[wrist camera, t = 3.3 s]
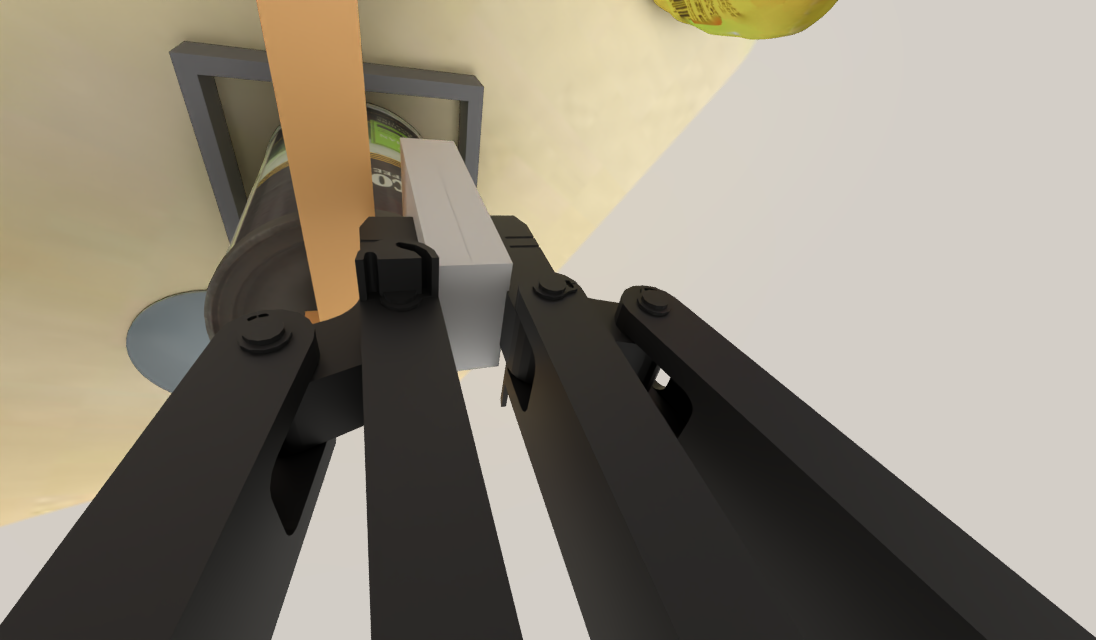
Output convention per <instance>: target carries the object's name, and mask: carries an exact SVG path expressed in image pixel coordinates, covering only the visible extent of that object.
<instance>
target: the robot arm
mask: <svg viewBox="0 0 1096 640" xmlns="http://www.w3.org/2000/svg"><path fill="white" fill-rule="evenodd" d="M400 155H401V181H402V207H403V217H368V218H367V219H366V220H365V221H364V222H363V224H362V225H361V226H360V227H359V234H360V250H359V251H358V253H357V255H356V258H355V266H356V274H357V283H358V291H359V300H358V302H357V303H356V304H355V305H354V306H353V307H352V308H351V309H350V310H348V311H347V312H345V313H343V314H341V315H339V316H337V317H334V318H331V319H328V320H325V321H321V322H318V323H314V324H312V323H311V321H310V319H308V318H307V317H305V316H303V315H302V314H300V313H298V312H293V311H288V310H283V309H276V310H261V311H257V312H253V313H249V314H245V315H243V316H241V317H239V318H237V319H235V320H233V321H231V322H228V323H227V324H226V325H225V326H224V327H223V328H222V329H221V330H219V331H218V332H217V333H216V334H215V336H214V337H213V338H212V340H211V341H210V342H209V344H208V345H207V346H206V348H205V349H204V350H203V352H202V353H201V355H200V356H199V357H198V359H197V360H196V361H195V363H194V364H193V365H192V367H191V368H190V369H189V371H188V372H187V373H186V375H185V376H184V377H183V379H182V380H181V382H180V383H179V384H178V386H177V387H176V388H175V390H174V391H173V392H172V394H171V395H170V396H169V398H168V399H167V400H166V402H165V403H164V405H163V406H162V407H161V409H160V410H159V411H158V413H157V414H156V415H155V417H154V418H153V419H152V421H151V422H150V423H149V425H148V426H147V427H146V429H145V430H144V432H143V433H142V434H141V436H140V437H139V438H138V440H137V441H136V442H135V444H134V445H133V446H132V448H131V449H130V450H129V452H128V453H127V454H126V456H125V457H124V459H123V460H122V461H121V463H120V464H119V465H118V467H117V468H116V469H115V471H114V472H113V473H112V475H111V476H110V477H109V479H108V480H107V482H106V483H105V484H104V486H103V487H102V488H101V490H100V491H99V492H98V494H97V495H96V496H95V498H94V499H93V500H92V502H91V503H90V505H89V506H88V507H87V509H86V510H85V511H84V513H83V514H82V515H81V517H80V518H79V519H78V521H77V522H76V523H75V525H74V526H73V528H72V529H71V530H70V532H69V533H68V534H67V536H66V537H65V538H64V540H63V541H62V543H61V544H60V545H59V546H58V548H57V549H56V550H55V552H54V553H53V555H52V556H51V557H50V559H49V560H48V561H47V563H46V564H45V565H44V567H43V568H42V569H41V571H40V572H39V573H38V575H37V576H36V577H35V579H34V580H33V581H32V583H31V584H30V586H29V587H28V588H27V590H26V591H25V592H24V594H23V595H22V596H21V598H20V599H19V600H18V602H17V603H16V604H15V606H14V607H13V608H12V610H11V611H10V613H9V614H8V615H7V617H6V618H5V619H4V621H3V622H2V623H1V625H0V640H271V638H272V635H273V632H274V629H275V626H276V623H277V620H278V617H279V614H280V611H281V608H282V605H283V602H284V599H285V596H286V593H287V590H288V587H289V584H290V580H291V578H292V575H293V571H294V568H295V565H296V562H297V559H298V556H299V553H300V550H301V547H302V544H303V541H304V538H305V535H306V532H307V529H308V526H309V523H310V520H311V517H312V513H313V511H314V507H315V504H316V501H317V498H318V495H319V492H320V489H321V486H322V483H323V480H324V477H325V474H326V471H327V468H328V465H329V462H330V459H331V456H332V453H333V450H334V447H335V444H336V437H338V436H340V435H343V434H345V433H347V432H350V431H352V430H354V429H357V428H359V427H362V426H364V441H365V468H366V469H365V470H366V497H367V498H366V499H367V527H368V557H369V584H370V585H369V586H370V613H371V614H370V615H371V640H523V638H522V634H521V630H520V625H519V622H518V618H517V613H516V609H515V605H514V601H513V597H512V593H511V589H510V585H509V581H508V577H507V573H506V568H505V564H504V560H503V556H502V552H501V548H500V544H499V540H498V536H497V532H496V528H495V524H494V520H493V516H492V512H491V508H490V503H489V499H488V495H487V491H486V487H485V483H484V479H483V475H482V471H481V467H480V463H479V459H478V455H477V451H476V447H475V442H474V438H473V434H472V430H471V426H470V422H469V418H468V414H467V410H466V406H465V402H464V398H463V394H462V390H461V386H460V381H459V377H458V373H457V371H461V370H470V369H478V368H486V367H495V366H498V365H499V358H500V351H501V350H502V352H503V355H504V358H505V361H506V367H505V374H504V380H503V387H502V393H501V407H504V406H506V403H507V397H508V395H509V398H510V401H511V404H512V407H513V410H514V413H515V416H516V419H517V422H518V425H519V428H520V431H521V434H522V436H523V439H524V443H525V446H526V448H527V452H528V455H529V457H530V461H531V463H532V466H533V469H534V472H535V475H536V478H537V481H538V484H539V487H540V490H541V493H542V496H543V499H544V502H545V505H546V508H547V511H548V514H549V517H550V520H551V523H552V526H553V529H554V532H555V535H556V538H557V541H558V544H559V547H560V550H561V553H562V556H563V559H564V562H565V565H566V568H567V571H568V574H569V577H570V580H571V582H572V586H573V589H574V592H575V595H576V598H577V601H578V604H579V606H580V610H581V612H582V615H583V618H584V621H585V625H586V628H587V631H588V634H589V637H590V639H591V640H1096V637H1094V636H1093V635H1092V634H1091V633H1089V632H1088V631H1087V630H1086V629H1084V628H1083V627H1082V626H1080V625H1079V624H1078V623H1077V622H1076V621H1075V620H1073V619H1072V618H1071V617H1070V616H1068V615H1067V614H1066V613H1065V612H1063V611H1062V610H1061V609H1060V608H1058V607H1057V606H1056V605H1055V604H1053V603H1052V602H1051V601H1050V600H1049V599H1047V598H1046V597H1045V596H1044V595H1042V594H1041V593H1040V592H1039V591H1037V590H1036V589H1035V588H1034V587H1032V586H1031V585H1030V584H1029V583H1027V582H1026V581H1025V580H1024V579H1023V578H1021V577H1020V576H1019V575H1018V574H1016V573H1015V572H1014V571H1013V570H1011V569H1010V568H1009V567H1008V566H1007V565H1005V564H1004V563H1003V562H1001V561H1000V560H999V559H998V558H997V557H995V556H994V555H993V554H992V553H990V552H989V551H988V550H987V549H985V548H984V547H983V546H982V545H981V544H979V543H978V542H977V541H976V540H974V539H973V538H972V537H971V536H969V535H968V534H967V533H966V532H964V531H963V530H962V529H961V528H960V527H958V526H957V525H956V524H955V523H953V522H952V521H951V520H950V519H948V518H947V517H946V516H945V515H943V514H942V513H941V512H940V511H938V510H937V509H936V508H935V507H933V506H932V505H931V504H930V503H928V502H927V501H926V500H925V499H924V498H922V497H921V496H920V495H919V494H917V493H916V492H915V491H914V490H912V489H911V488H910V487H909V486H907V485H906V484H905V483H904V482H903V481H901V480H900V479H899V478H898V477H896V476H895V475H894V474H893V473H891V472H890V471H889V470H888V469H887V468H885V467H884V466H883V465H882V464H880V463H879V462H878V461H877V460H875V459H874V458H873V457H872V456H870V455H869V454H868V453H867V452H865V451H864V450H863V449H862V448H860V447H859V446H858V445H857V444H856V443H854V442H853V441H852V440H851V439H849V438H848V437H847V436H846V435H844V434H843V433H842V432H841V431H839V430H838V429H837V428H836V427H835V426H833V425H832V424H831V423H830V422H828V421H827V420H826V419H825V418H823V417H822V416H821V415H820V414H818V413H817V412H816V411H815V410H814V409H812V408H811V407H810V406H809V405H807V404H806V403H805V402H804V401H802V400H801V399H800V398H799V397H797V396H796V395H795V394H794V393H792V392H791V391H790V390H789V389H787V388H786V387H785V386H784V385H783V384H781V383H780V382H779V381H778V380H776V379H775V378H774V377H773V376H771V375H770V374H769V373H768V372H767V371H765V370H764V369H763V368H761V367H760V366H759V365H758V364H756V363H755V362H754V361H753V360H752V359H750V358H749V357H748V356H747V355H745V354H744V353H743V352H742V351H740V350H739V349H738V348H737V347H736V346H734V345H733V344H732V343H731V342H729V341H728V340H727V339H726V338H724V337H723V336H722V335H721V334H719V333H718V332H717V331H716V330H715V329H713V328H712V327H711V326H710V325H708V324H707V323H706V322H705V321H703V320H702V319H701V318H700V317H698V316H697V315H696V314H695V313H693V312H692V311H691V310H690V309H689V308H687V307H686V306H685V305H683V304H682V303H681V302H680V301H679V300H677V299H676V298H675V297H673V296H671V295H670V294H668V293H667V292H665V291H662V290H660V289H657V288H656V287H651V286H650V287H649V286H643V285H642V286H632V287H630V288H628V289H626V290H625V291H624V293H623V294H622V296H621V299H620V302H619V303H616V302H609V301H603V300H596V299H591V298H587V296H586V294H585V293H584V291H583V290H582V288H581V287H580V286H579V285H578V284H577V283H576V282H575V281H574V280H572V279H570V278H569V277H567V276H565V275H562V274H559V273H555V272H554V270H553V269H552V267H551V265H550V264H549V262H548V260H547V258H546V257H545V255H544V253H543V252H542V250H541V248H540V247H539V245H538V243H537V242H536V240H535V238H533V235H532V233H531V231H530V230H529V228H528V226H527V225H526V224H524V223H523V222H522V221H520V220H519V219H518V218H516V217H515V216H490V215H489V213H488V211H487V209H486V207H485V205H484V203H483V201H482V198H481V196H480V194H479V192H478V190H477V188H476V186H475V184H474V182H473V180H472V178H471V176H470V174H469V172H468V169H467V167H466V165H465V163H464V161H463V159H462V157H461V155H460V153H459V151H458V149H457V147H456V145H455V143H454V141H446V140H431V139H416V138H400ZM660 368H661V369H662V370H663V371H664V372H665V373H667V374H668V375H669V376H670V377H671V378H670V380H669V382H668V384H667V386H666V387H665V386H662V385H660V384H659V383H658V382H657V381H656V380H655V379H656V377H657V375H658V373H659V370H660Z"/></svg>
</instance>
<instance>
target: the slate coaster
mask: <svg viewBox="0 0 1096 640" xmlns="http://www.w3.org/2000/svg"><path fill="white" fill-rule="evenodd" d="M206 292H207V290H200V291H190V292H185V293H179V294H176V295H172V296H169V297H166V298H164V299H161V300H159V301H157V302H155V303H153V304H152V305H150V306H148V307H147V308H146V309H144V310H143V311H142V312H141V313H140V314H139V315H138V316H137V317H136V318H135V320H134V321H133V323H132V325H131V327H130V329H129V331H128V334H127V338H126V347H127V351H128V355H129V357H130V359H131V361H132V363H133V364H134V366H135V367H136V368H137V370H138V371H139V372H140V373H141V374H142V375H143V376H144V377H146V378H147V379H148V380H150V381H151V382H152V383H154V384H156V385H157V386H159V387H161V388H163V389H165V390H167V391H169V392H171V393H172V392H173V391H174V390H175V388H176V387H177V386H178V384H179V383H180V382H181V380H182V379H183V377H184V376H185V375H186V373H187V372H188V371H189V369H190V368H191V367H192V365H193V364H194V363H195V361H196V360H197V359H198V357H199V356H200V355H201V353H202V352H203V350H204V349H205V348H206V346H207V345H208V344H209V342H210V339H209V336H208V334H207V330H206V326H205V318H204V304H205V297H206Z"/></svg>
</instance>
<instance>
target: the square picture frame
mask: <svg viewBox="0 0 1096 640" xmlns="http://www.w3.org/2000/svg"><path fill="white" fill-rule="evenodd" d="M169 54H170V57H171V60H172V63H173V66H174V69H175V73H176V76H177V79H178V82H179V85H180V88H181V91H182V95H183V98H184V101H185V104H186V107H187V110H188V113H189V117H190V120H191V123H192V126H193V129H194V132H195V135H196V139H197V142H198V145H199V148H200V151H201V154H202V157H203V161H204V164H205V167H206V170H207V173H208V176H209V179H210V182H211V186H212V189H213V192H214V195H215V198H216V201H217V204H218V208H219V211H220V214H221V217H222V220H223V223H224V226H225V230H226V233H227V236H228V239H229V242H230V244H231V241H232V238H233V236H234V233H235V231H236V228H237V226H238V223H239V221H240V218H241V216H242V213H243V211H244V208H245V206H246V203H247V198H246V194H245V191H244V187H243V183H242V180H241V176H240V172H239V169H238V165H237V161H236V158H235V154H234V150H233V146H232V143H231V139H230V135H229V132H228V128H227V124H226V121H225V117H224V113H223V110H222V106H221V102H220V99H219V95H218V91H217V88H216V84H215V80H214V77H213V76H218V77H228V78H238V79H248V80H258V81H269V82H272V77H271V72H270V67H269V62H268V57H267V52H266V51H263V50H254V49H246V48H237V47H229V46H221V45H212V44H204V43H196V42H187V41H184V42H182V43H181V44H180V45H178V46H177V47H175V48H174V49H172V50H171V51H169ZM363 74H364V86H365V91H370V92H380V93H390V94H400V95H411V96H421V97H431V98H441V99H451V100H460V119H459V142H458V151H459V153H460V155H461V157H462V159H463V161H464V163H465V165H466V167H467V169H468V172H469V174H470V176H471V178H472V180H473V182H474V184H475V186H476V188H477V177H478V163H479V149H480V135H481V121H482V107H483V93H484V86H483V85H482V84H481V83H480V81H479V80H478V79H477V78H476V77H475V76H472V75H464V74H455V73H447V72H438V71H430V70H422V69H413V68H405V67H397V66H388V65H380V64H371V63H363Z"/></svg>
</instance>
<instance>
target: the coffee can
mask: <svg viewBox="0 0 1096 640" xmlns="http://www.w3.org/2000/svg"><path fill="white" fill-rule="evenodd" d="M366 111H367V123H368V135H369V147H370V160H371V172H372V184H373V196H374V208H375V217H403V207H402V181H401V155H400V138H416V139H423V138H422V137H421V136H420V135H419V133H418V132H417V131H416V130H415V129H414V128H413V127H412V126H411V125H410V124H408V123H407V122H406V121H404V120H403V119H401V118H400V117H399V116H397V115H395V114H393V113H392V112H390V111H388V110H386V109H383V108H381V107H378V106H376V105H373V104H369V103H366ZM276 309H283V310H288V311H293V312H298V313H300V314H302V315H303V316H305V311H318V309H317V304H316V299H315V294H314V289H313V284H312V278H311V273H310V268H309V263H308V258H307V253H306V248H305V243H304V238H303V233H302V228H301V223H300V218H299V213H298V208H297V203H296V198H295V193H294V188H293V183H292V178H291V173H290V168H289V163H288V158H287V153H286V148H285V143H284V138H283V132H282V127H281V125H280V126H279V127H277V129H276V130H275V132H274V133H273V135H272V137H271V139H270V141H269V144H268V147H267V149H266V154H265V159H264V161H263V164H262V166H261V169H260V171H259V174H258V176H257V179H256V181H255V184H254V186H253V188H252V191H251V193H250V195H249V198H248V201H247V203H246V206H245V208H244V211H243V213H242V216H241V218H240V221H239V223H238V226H237V228H236V231H235V233H234V236H233V238H232V241H231V244H230V246H229V248H228V251H227V253H226V255H225V256H224V258H223V259H222V261H221V262H220V264H219V265H218V267H217V269H216V271H215V273H214V275H213V277H212V279H211V281H210V283H209V286H208V288H207V292H206V297H205V304H204V318H205V326H206V330H207V334H208V336H209V339H210V341H211V340H212V338H213V337H214V336H215V334H216V333H217V332H218V331H219V330H221V329H222V328H223V327H224V326H225V325H226V324H227V323H228V322H231V321H233V320H235V319H237V318H239V317H241V316H243V315H245V314H249V313H253V312H257V311H261V310H276ZM457 372H458V371H457Z"/></svg>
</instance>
